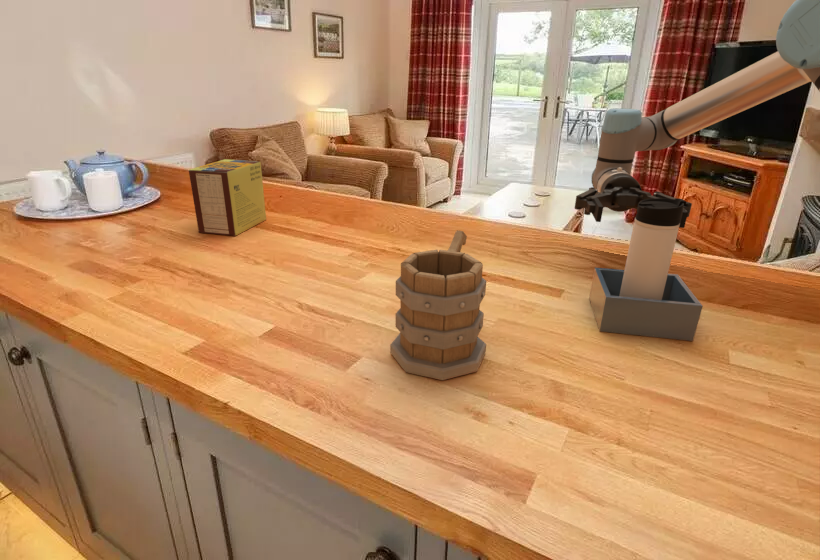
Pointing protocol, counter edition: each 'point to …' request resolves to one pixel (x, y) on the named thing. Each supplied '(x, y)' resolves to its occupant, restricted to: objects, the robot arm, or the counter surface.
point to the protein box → (228, 196)
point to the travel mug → (651, 247)
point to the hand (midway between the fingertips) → (641, 217)
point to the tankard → (440, 313)
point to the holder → (644, 308)
